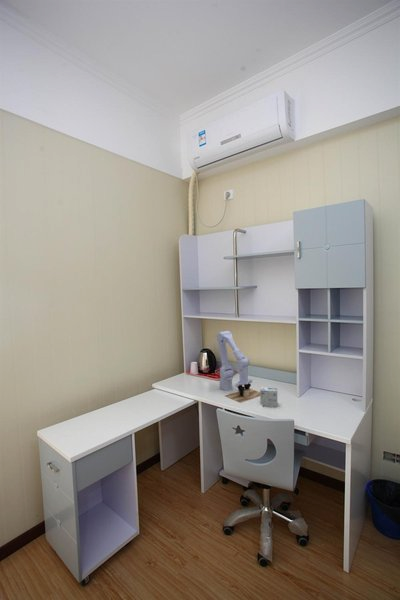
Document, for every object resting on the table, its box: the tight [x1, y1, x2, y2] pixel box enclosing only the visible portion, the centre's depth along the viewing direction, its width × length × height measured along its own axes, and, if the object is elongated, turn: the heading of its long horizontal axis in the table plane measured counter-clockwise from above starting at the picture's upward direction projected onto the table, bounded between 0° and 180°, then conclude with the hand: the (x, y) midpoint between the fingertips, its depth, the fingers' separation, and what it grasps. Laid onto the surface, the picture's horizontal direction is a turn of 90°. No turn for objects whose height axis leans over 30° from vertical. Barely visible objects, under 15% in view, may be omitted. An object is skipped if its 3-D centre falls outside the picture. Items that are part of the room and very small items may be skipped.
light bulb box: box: [259, 386, 278, 408], centre depth 197 cm, size 11×7×11 cm, turn 74°
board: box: [224, 387, 260, 404], centre depth 212 cm, size 16×24×1 cm, turn 127°
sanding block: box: [237, 388, 250, 397], centre depth 211 cm, size 7×4×4 cm, turn 36°
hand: (244, 394), depth 211 cm, fingers closed on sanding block, 4 cm apart
